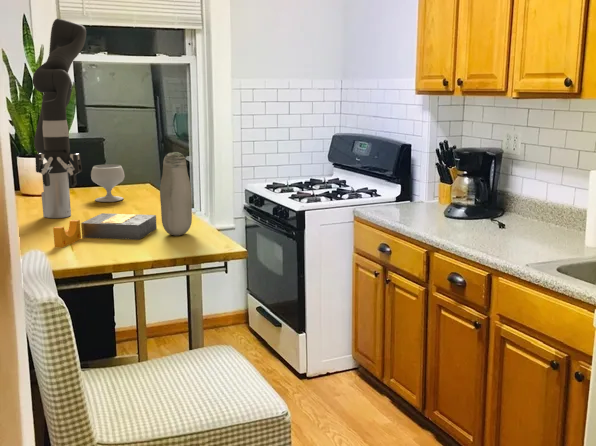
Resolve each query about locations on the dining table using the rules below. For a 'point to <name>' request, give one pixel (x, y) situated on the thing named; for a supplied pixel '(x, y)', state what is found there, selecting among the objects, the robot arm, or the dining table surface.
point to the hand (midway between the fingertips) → (60, 186)
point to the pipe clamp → (67, 234)
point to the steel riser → (119, 226)
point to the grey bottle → (175, 195)
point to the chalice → (108, 179)
